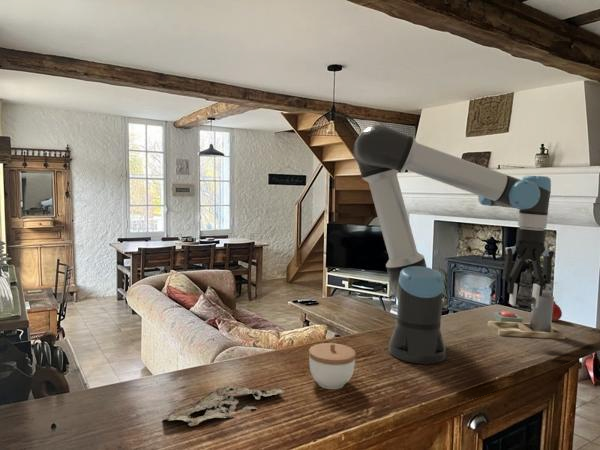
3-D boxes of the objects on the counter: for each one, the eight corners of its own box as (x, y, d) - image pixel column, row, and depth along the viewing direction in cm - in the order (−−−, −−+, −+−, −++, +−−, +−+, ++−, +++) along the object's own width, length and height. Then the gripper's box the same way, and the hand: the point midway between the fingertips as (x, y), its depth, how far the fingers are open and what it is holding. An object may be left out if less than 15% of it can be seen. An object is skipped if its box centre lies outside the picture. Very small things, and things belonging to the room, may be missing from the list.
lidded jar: (325, 398, 97) (327, 356, 96) (298, 379, 106) (300, 340, 105) (363, 388, 103) (366, 347, 102) (335, 370, 112) (337, 333, 111)
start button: (503, 322, 155) (503, 314, 155) (498, 319, 159) (499, 310, 159) (516, 323, 155) (517, 315, 154) (511, 319, 159) (511, 311, 159)
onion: (539, 322, 160) (541, 300, 160) (545, 319, 164) (547, 297, 163) (557, 326, 156) (559, 303, 155) (563, 323, 160) (565, 301, 159)
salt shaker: (537, 311, 132) (542, 271, 131) (517, 310, 132) (521, 270, 131) (527, 306, 138) (532, 267, 137) (508, 305, 138) (512, 266, 137)
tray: (498, 338, 141) (499, 330, 141) (487, 328, 151) (487, 320, 151) (564, 341, 140) (565, 333, 140) (548, 331, 150) (549, 324, 150)
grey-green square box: (500, 326, 154) (501, 317, 153) (493, 320, 161) (493, 311, 160) (521, 327, 153) (522, 318, 153) (513, 321, 160) (513, 312, 160)
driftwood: (258, 370, 104) (264, 356, 101) (284, 407, 98) (292, 394, 96) (154, 418, 86) (159, 403, 84) (180, 466, 81) (186, 451, 78)
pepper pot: (534, 335, 142) (538, 292, 141) (526, 329, 148) (529, 287, 147) (554, 336, 142) (558, 293, 141) (544, 330, 148) (548, 288, 147)
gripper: (557, 229, 136) (549, 304, 138) (494, 225, 137) (486, 299, 139) (571, 232, 129) (562, 311, 131) (504, 227, 130) (495, 306, 132)
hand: (523, 305), depth 135 cm, fingers closed on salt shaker, 6 cm apart
